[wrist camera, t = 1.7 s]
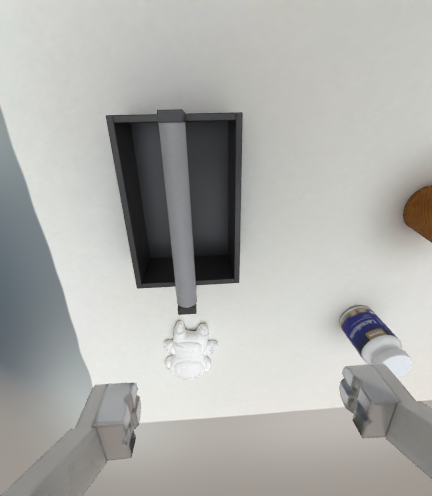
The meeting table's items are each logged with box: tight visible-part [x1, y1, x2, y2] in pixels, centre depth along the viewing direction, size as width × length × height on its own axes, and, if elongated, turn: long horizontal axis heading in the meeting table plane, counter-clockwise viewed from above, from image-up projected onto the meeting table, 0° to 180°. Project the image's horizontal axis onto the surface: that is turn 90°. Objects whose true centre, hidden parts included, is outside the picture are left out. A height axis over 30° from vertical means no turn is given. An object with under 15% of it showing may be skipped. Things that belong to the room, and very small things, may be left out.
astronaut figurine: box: [164, 321, 218, 379], centre depth 43 cm, size 9×12×3 cm
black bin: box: [106, 110, 242, 315], centre depth 28 cm, size 18×12×12 cm, turn 1°
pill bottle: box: [340, 306, 413, 378], centre depth 39 cm, size 6×6×10 cm
